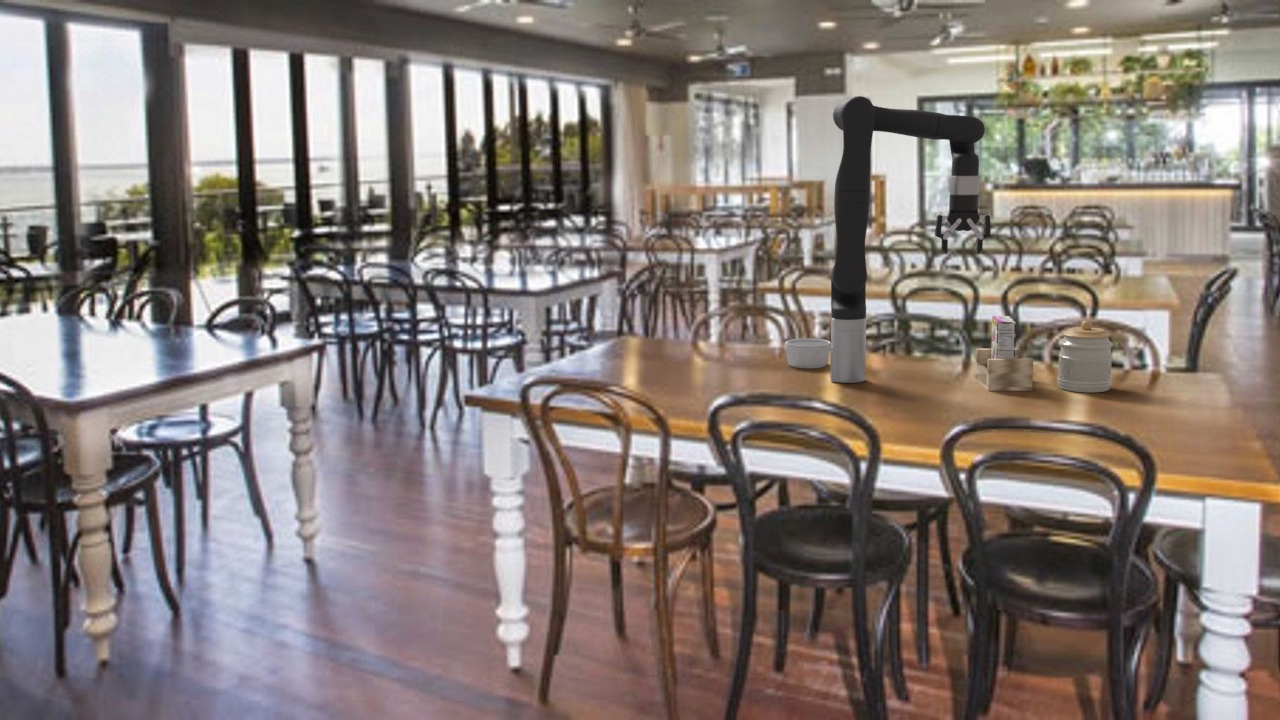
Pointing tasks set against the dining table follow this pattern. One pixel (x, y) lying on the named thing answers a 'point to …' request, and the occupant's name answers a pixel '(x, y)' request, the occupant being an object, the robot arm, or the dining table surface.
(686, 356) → the dining table surface
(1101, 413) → the dining table surface
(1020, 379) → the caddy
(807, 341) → the ramekin
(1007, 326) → the candy bar box
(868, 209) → the robot arm
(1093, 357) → the jar
